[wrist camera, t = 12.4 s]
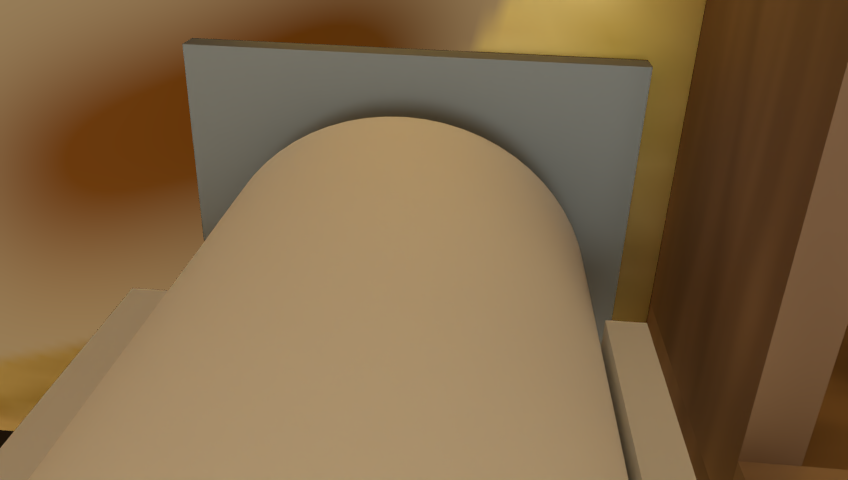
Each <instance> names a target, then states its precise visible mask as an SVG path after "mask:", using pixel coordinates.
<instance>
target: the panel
mask: <svg viewBox="0 0 848 480" xmlns="http://www.w3.org/2000/svg"><path fill="white" fill-rule="evenodd" d="M183 54H184V62H185V71H186V81H187V90H188V99H189V107H190V117H191V127H192V135H193V145H194V153H195V163H196V171H197V181H198V191H199V200H200V209H201V218H202V227H203V237H204V241H205V240H206V238H207V237H208V236H209V234H210V233H211V231H212V230H213V229H214V227H215V226H216V225H217V223H218V222H219V221H220V219H221V218H222V217H223V215H224V214H225V213H226V211H227V210H228V209H229V207H230V206H231V204H232V203H233V202H234V200H235V199H236V198H237V196H238V195H239V194H240V192H241V191H242V190H243V188H244V187H245V186H246V184H247V183H248V182H249V180H250V179H251V178H252V177H253V175H254V174H255V173H256V172H257V171H258V170H259V169H260V168H261V167H262V166H263V165H264V164H265V163H266V162H267V161H269V160H270V159H271V158H272V157H273V156H275V155H276V154H277V153H278V152H280V151H281V150H283V149H284V148H286V147H287V146H289V145H290V144H292V143H293V142H295V141H297V140H299V139H301V138H303V137H304V136H306V135H308V134H310V133H313V132H315V131H318V130H320V129H323V128H325V127H328V126H332V125H335V124H339V123H342V122H346V121H351V120H357V119H363V118H372V117H385V116H386V117H410V118H419V119H427V120H431V121H436V122H441V123H445V124H448V125H452V126H455V127H458V128H461V129H464V130H466V131H469V132H471V133H474V134H476V135H478V136H481V137H483V138H485V139H487V140H488V141H490V142H492V143H494V144H496V145H498V146H500V147H501V148H502V149H504V150H505V151H507V152H508V153H510V154H511V155H513V156H514V157H516V158H517V159H518V160H519V161H521V162H522V163H523V164H524V165H526V166H527V167H528V168H529V169H530V170H531V171H532V172H533V173H534V174H535V175H536V176H537V177H538V178H539V179H540V180H541V181H542V182H543V183H544V184H545V185H546V187H547V188H548V189H549V190H550V192H551V193H552V194H553V195H554V197H555V198H556V200H557V201H558V203H559V204H560V206H561V207H562V209H563V211H564V212H565V214H566V216H567V218H568V220H569V222H570V224H571V226H572V228H573V231H574V233H575V236H576V239H577V242H578V244H579V248H580V252H581V256H582V260H583V265H584V270H585V275H586V279H587V284H588V289H589V294H590V298H591V303H592V308H593V313H594V317H595V322H596V327H597V332H598V336H599V341H600V346H601V345H602V339H603V332H604V326H605V320H611V321H612V315H613V309H614V302H615V296H616V290H617V284H618V278H619V272H620V265H621V259H622V253H623V247H624V241H625V235H626V228H627V222H628V216H629V210H630V204H631V198H632V192H633V185H634V179H635V173H636V167H637V161H638V155H639V148H640V142H641V136H642V130H643V124H644V118H645V111H646V105H647V99H648V93H649V87H650V81H651V74H652V68H653V67H652V66H651V64H650V63H649V61H648V60H631V59H610V58H590V57H569V56H549V55H528V54H508V53H487V52H467V51H447V50H426V49H425V50H424V49H406V48H405V49H404V48H383V47H365V46H344V45H343V46H342V45H323V44H303V43H283V42H262V41H241V40H221V39H199V38H192V39H190V40H188V41H187V42H185V43H184V44H183Z"/></svg>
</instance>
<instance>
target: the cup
mask: <svg viewBox="0 0 848 480" xmlns="http://www.w3.org/2000/svg"><path fill="white" fill-rule="evenodd" d="M28 480H629V479H628V474H627V469H626V465H625V460H624V455H623V450H622V446H621V441H620V436H619V431H618V427H617V422H616V417H615V412H614V408H613V403H612V398H611V393H610V389H609V384H608V379H607V374H606V370H605V365H604V360H603V355H602V351H601V346H600V341H599V336H598V332H597V327H596V322H595V317H594V313H593V308H592V303H591V298H590V294H589V289H588V284H587V279H586V275H585V270H584V265H583V260H582V256H581V252H580V248H579V244H578V242H577V239H576V236H575V233H574V231H573V228H572V226H571V224H570V222H569V220H568V218H567V216H566V214H565V212H564V211H563V209H562V207H561V206H560V204H559V203H558V201H557V200H556V198H555V197H554V195H553V194H552V193H551V192H550V190H549V189H548V188H547V187H546V185H545V184H544V183H543V182H542V181H541V180H540V179H539V178H538V177H537V176H536V175H535V174H534V173H533V172H532V171H531V170H530V169H529V168H528V167H527V166H526V165H524V164H523V163H522V162H521V161H519V160H518V159H517V158H516V157H514V156H513V155H511V154H510V153H508V152H507V151H505V150H504V149H502V148H501V147H500V146H498V145H496V144H494V143H492V142H490V141H488V140H487V139H485V138H483V137H481V136H478V135H476V134H474V133H471V132H469V131H466V130H464V129H461V128H458V127H455V126H452V125H448V124H445V123H441V122H436V121H431V120H427V119H419V118H410V117H386V116H385V117H372V118H363V119H357V120H351V121H346V122H342V123H339V124H335V125H332V126H328V127H325V128H323V129H320V130H318V131H315V132H313V133H310V134H308V135H306V136H304V137H303V138H301V139H299V140H297V141H295V142H293V143H292V144H290V145H289V146H287V147H286V148H284V149H283V150H281V151H280V152H278V153H277V154H276V155H275V156H273V157H272V158H271V159H270V160H269V161H267V162H266V163H265V164H264V165H263V166H262V167H261V168H260V169H259V170H258V171H257V172H256V173H255V174H254V175H253V177H252V178H251V179H250V180H249V182H248V183H247V184H246V186H245V187H244V188H243V190H242V191H241V192H240V194H239V195H238V196H237V198H236V199H235V200H234V202H233V203H232V204H231V206H230V207H229V209H228V210H227V211H226V213H225V214H224V215H223V217H222V218H221V219H220V221H219V222H218V223H217V225H216V226H215V227H214V229H213V230H212V231H211V233H210V234H209V236H208V237H207V238H206V240H205V241H204V242H203V244H202V245H201V246H200V248H199V249H198V250H197V252H196V253H195V255H194V256H193V257H192V259H191V260H190V261H189V263H188V264H187V265H186V267H185V268H184V269H183V271H182V272H181V273H180V275H179V276H178V278H177V279H176V280H175V282H174V283H173V284H172V286H171V287H170V288H169V290H168V291H167V292H166V294H165V295H164V296H163V298H162V299H161V300H160V302H159V303H158V304H157V306H156V307H155V309H154V310H153V311H152V313H151V314H150V315H149V317H148V318H147V319H146V321H145V322H144V323H143V325H142V326H141V327H140V329H139V330H138V332H137V333H136V334H135V336H134V337H133V338H132V340H131V341H130V342H129V344H128V345H127V346H126V348H125V349H124V350H123V352H122V353H121V355H120V356H119V357H118V359H117V360H116V361H115V363H114V364H113V365H112V367H111V368H110V369H109V371H108V372H107V373H106V375H105V376H104V377H103V379H102V380H101V382H100V383H99V384H98V386H97V387H96V388H95V390H94V391H93V392H92V394H91V395H90V396H89V398H88V399H87V400H86V402H85V403H84V405H83V406H82V407H81V409H80V410H79V411H78V413H77V414H76V415H75V417H74V418H73V419H72V421H71V422H70V423H69V425H68V426H67V428H66V429H65V430H64V432H63V433H62V434H61V436H60V437H59V438H58V440H57V441H56V442H55V444H54V445H53V446H52V448H51V449H50V450H49V452H48V453H47V455H46V456H45V457H44V459H43V460H42V461H41V463H40V464H39V465H38V467H37V468H36V469H35V471H34V472H33V473H32V475H31V476H30V478H29V479H28Z"/></svg>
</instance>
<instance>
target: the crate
mask: <svg viewBox="0 0 848 480" xmlns="http://www.w3.org/2000/svg"><path fill="white" fill-rule="evenodd" d="M647 325H648V328H649V331H650V334H651V337H652V340H653V344H654V347H655V350H656V353H657V356H658V359H659V363H660V366H661V369H662V372H663V375H664V378H665V382H666V385H667V388H668V391H669V394H670V397H671V401H672V404H673V407H674V410H675V413H676V416H677V420H678V423H679V426H680V429H681V432H682V435H683V439H684V442H685V445H686V448H687V451H688V454H689V458H690V461H691V464H692V467H693V470H694V473H695V477H696V480H848V0H707V1H706V7H705V12H704V18H703V23H702V28H701V34H700V39H699V44H698V50H697V55H696V60H695V66H694V71H693V77H692V82H691V87H690V93H689V98H688V103H687V109H686V114H685V119H684V125H683V130H682V136H681V141H680V146H679V152H678V157H677V162H676V168H675V173H674V178H673V184H672V189H671V195H670V200H669V205H668V211H667V216H666V221H665V227H664V232H663V237H662V243H661V248H660V254H659V259H658V264H657V270H656V275H655V280H654V286H653V291H652V296H651V302H650V307H649V313H648V318H647Z"/></svg>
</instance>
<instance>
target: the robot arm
mask: <svg viewBox="0 0 848 480" xmlns="http://www.w3.org/2000/svg"><path fill="white" fill-rule="evenodd" d="M167 291H168V290H156V289H141V288H132V289H131V290H130V291H129V293H128V294H127V295H126V296H125V297H124V298H123V300H122V301H121V302H120V303H119V305H118V306H117V307H116V308H115V309H114V311H113V312H112V313H111V314H110V315H109V317H108V318H107V319H106V320H105V322H104V323H103V324H102V325H101V326H100V328H99V329H98V330H97V331H96V333H95V334H94V335H93V336H92V337H91V338H90V340H89V341H88V342H87V343H86V345H85V346H84V347H83V348H82V349H81V351H80V352H79V353H78V354H77V355H76V357H75V358H74V359H73V360H72V362H71V363H70V364H69V365H68V366H67V368H66V369H65V370H64V371H63V372H62V374H61V375H60V376H59V377H58V379H57V380H56V381H55V382H54V383H53V385H52V386H51V387H50V388H49V389H48V391H47V392H46V393H45V394H44V396H43V397H42V398H41V399H40V400H39V402H38V403H37V404H36V405H35V406H34V408H33V409H32V410H31V411H30V413H29V414H28V415H27V416H26V417H25V419H24V420H23V421H22V422H21V423H20V425H19V426H18V427H17V428H16V430H15V431H3V430H0V480H28V479H29V478H30V476H31V475H32V473H33V472H34V471H35V469H36V468H37V467H38V465H39V464H40V463H41V461H42V460H43V459H44V457H45V456H46V455H47V453H48V452H49V450H50V449H51V448H52V446H53V445H54V444H55V442H56V441H57V440H58V438H59V437H60V436H61V434H62V433H63V432H64V430H65V429H66V428H67V426H68V425H69V423H70V422H71V421H72V419H73V418H74V417H75V415H76V414H77V413H78V411H79V410H80V409H81V407H82V406H83V405H84V403H85V402H86V400H87V399H88V398H89V396H90V395H91V394H92V392H93V391H94V390H95V388H96V387H97V386H98V384H99V383H100V382H101V380H102V379H103V377H104V376H105V375H106V373H107V372H108V371H109V369H110V368H111V367H112V365H113V364H114V363H115V361H116V360H117V359H118V357H119V356H120V355H121V353H122V352H123V350H124V349H125V348H126V346H127V345H128V344H129V342H130V341H131V340H132V338H133V337H134V336H135V334H136V333H137V332H138V330H139V329H140V327H141V326H142V325H143V323H144V322H145V321H146V319H147V318H148V317H149V315H150V314H151V313H152V311H153V310H154V309H155V307H156V306H157V304H158V303H159V302H160V300H161V299H162V298H163V296H164V295H165V294H166V292H167ZM601 351H602V355H603V360H604V365H605V370H606V374H607V379H608V384H609V389H610V393H611V398H612V403H613V408H614V412H615V417H616V422H617V427H618V431H619V436H620V441H621V446H622V450H623V455H624V460H625V465H626V469H627V474H628V479H629V480H696V477H695V473H694V470H693V467H692V464H691V461H690V458H689V454H688V451H687V448H686V445H685V442H684V439H683V435H682V432H681V429H680V426H679V423H678V420H677V416H676V413H675V410H674V407H673V404H672V401H671V397H670V394H669V391H668V388H667V385H666V382H665V378H664V375H663V372H662V369H661V366H660V363H659V359H658V356H657V353H656V350H655V347H654V344H653V340H652V337H651V334H650V331H649V328H648V325H647V323H640V322H625V321H611V320H605V326H604V332H603V339H602V345H601Z"/></svg>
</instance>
